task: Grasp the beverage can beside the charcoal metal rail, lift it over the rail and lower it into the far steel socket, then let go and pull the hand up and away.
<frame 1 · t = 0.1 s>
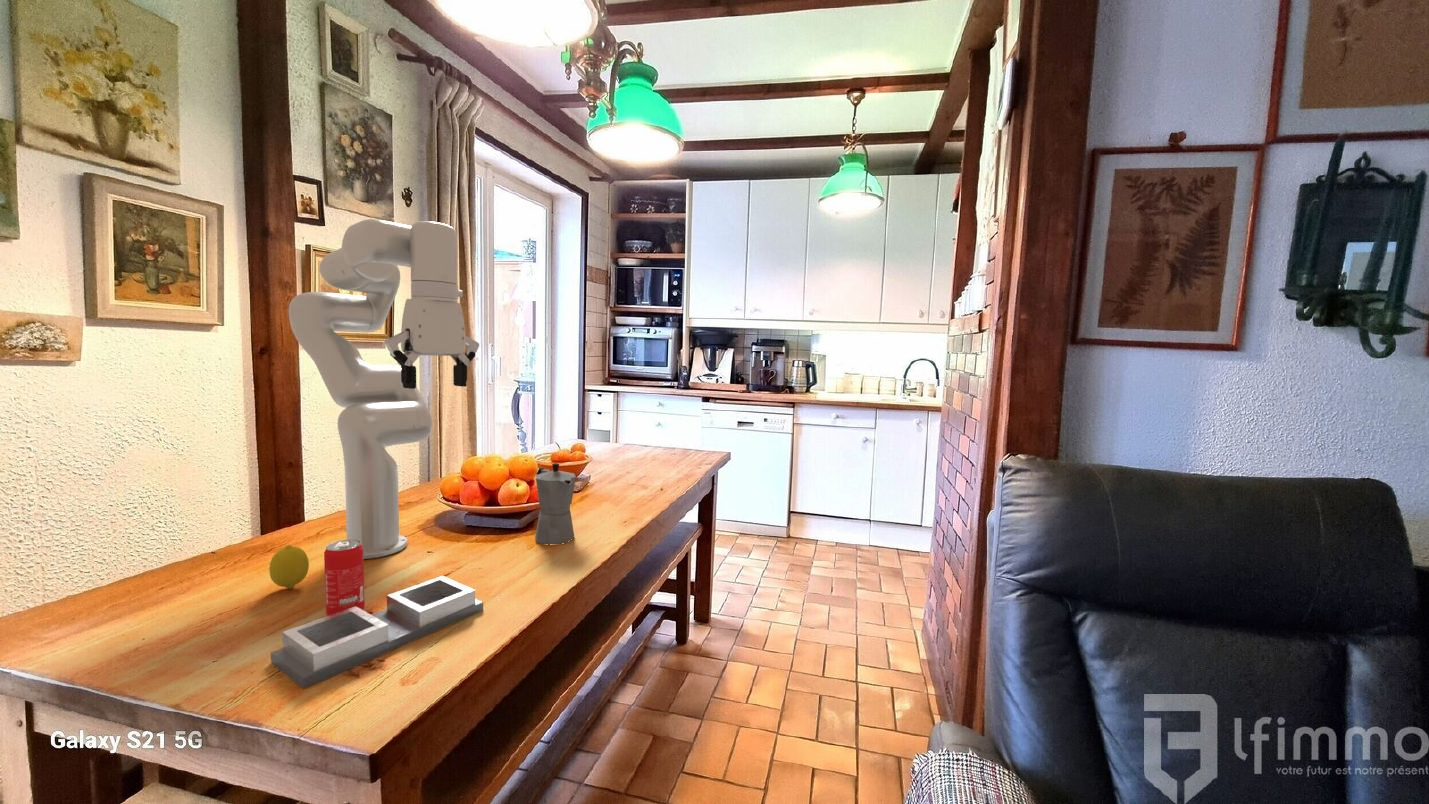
hand: (435, 387, 100), 37 cm above the table, tool pointing down, fingers open, 9 cm apart
beverage can: (345, 616, 88), on the table
lemon: (290, 589, 97), on the table
socket rail: (388, 633, 83), on the table
coffeepot: (552, 538, 127), on the table
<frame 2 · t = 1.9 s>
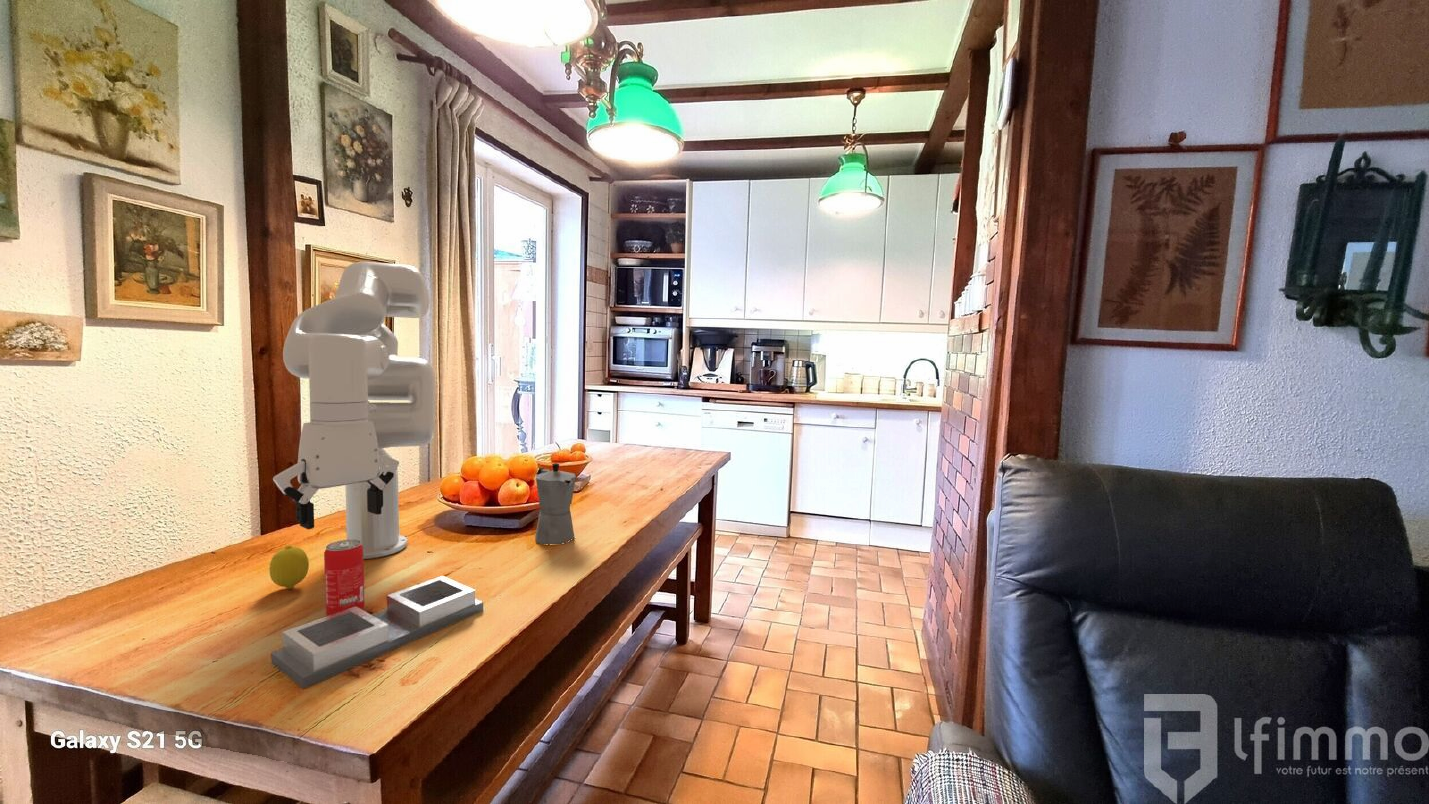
hand: (342, 519, 86), 16 cm above the table, tool pointing down, fingers open, 9 cm apart
nothing on the table moved.
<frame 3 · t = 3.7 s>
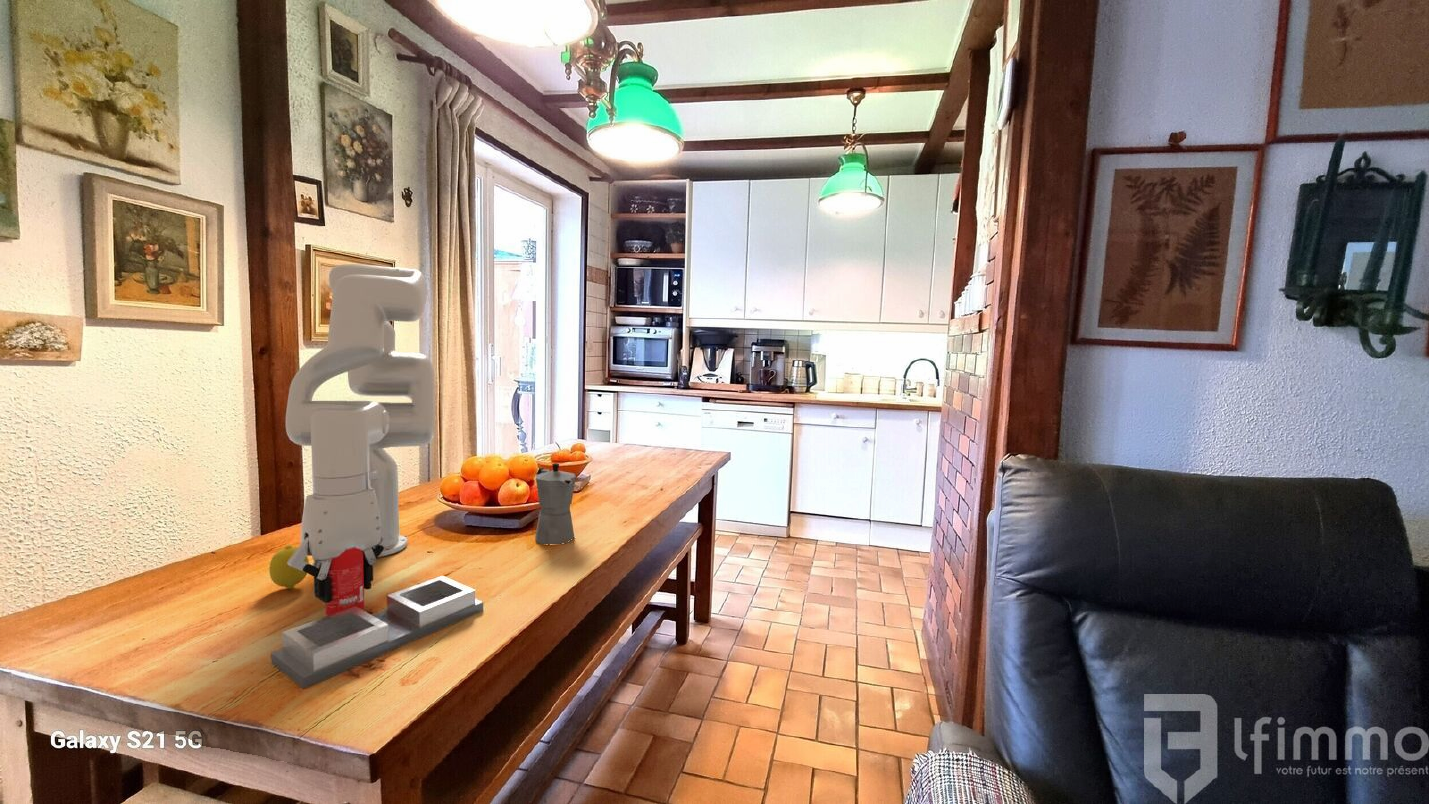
hand: (345, 592, 88), 4 cm above the table, tool pointing down, fingers closed on beverage can, 5 cm apart
beverage can: (345, 617, 88), on the table, touching gripper
everything else where it was.
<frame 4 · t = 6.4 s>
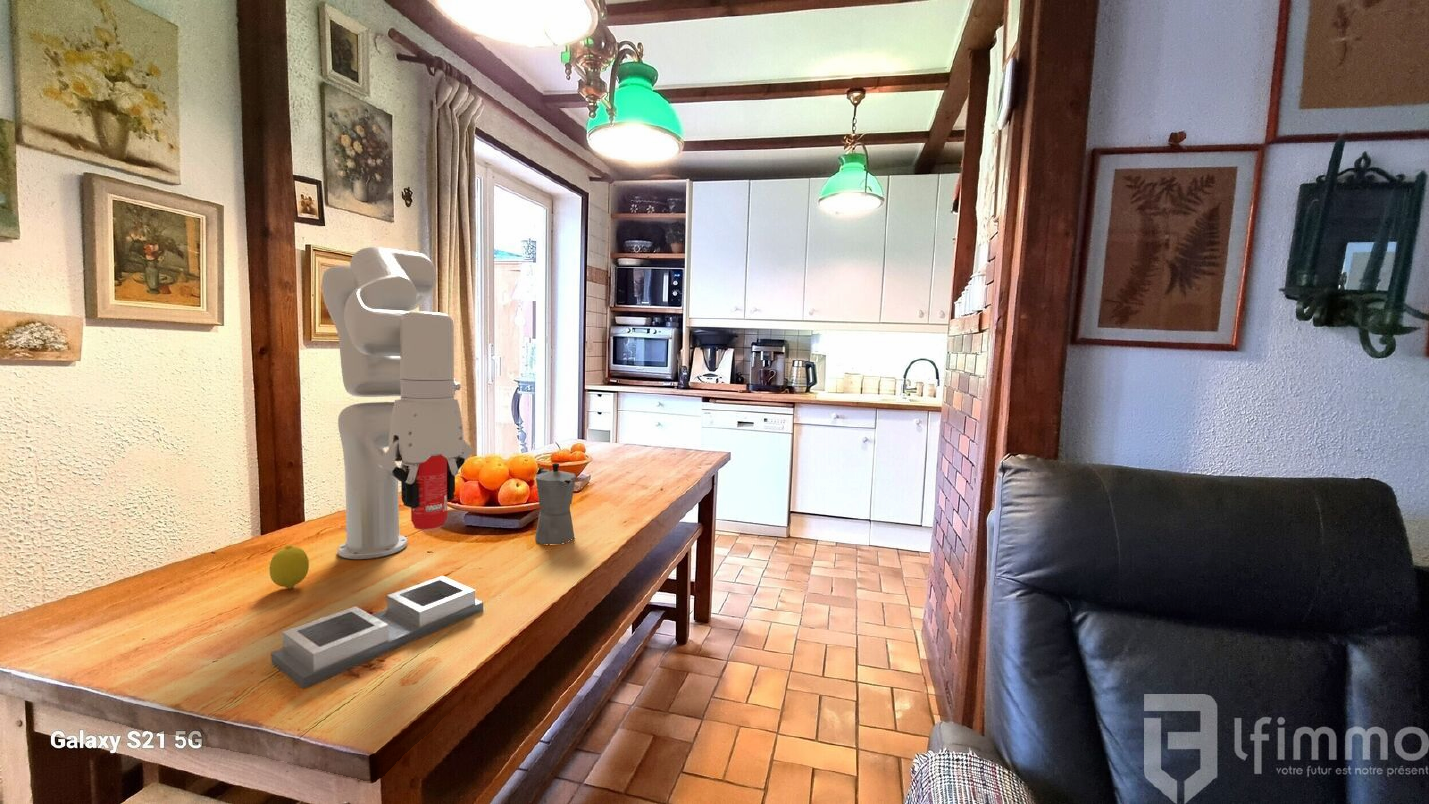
hand: (429, 501, 87), 19 cm above the table, tool pointing down, fingers closed on beverage can, 5 cm apart
beverage can: (429, 526, 88), point 15 cm above the table, touching gripper
everything else where it was.
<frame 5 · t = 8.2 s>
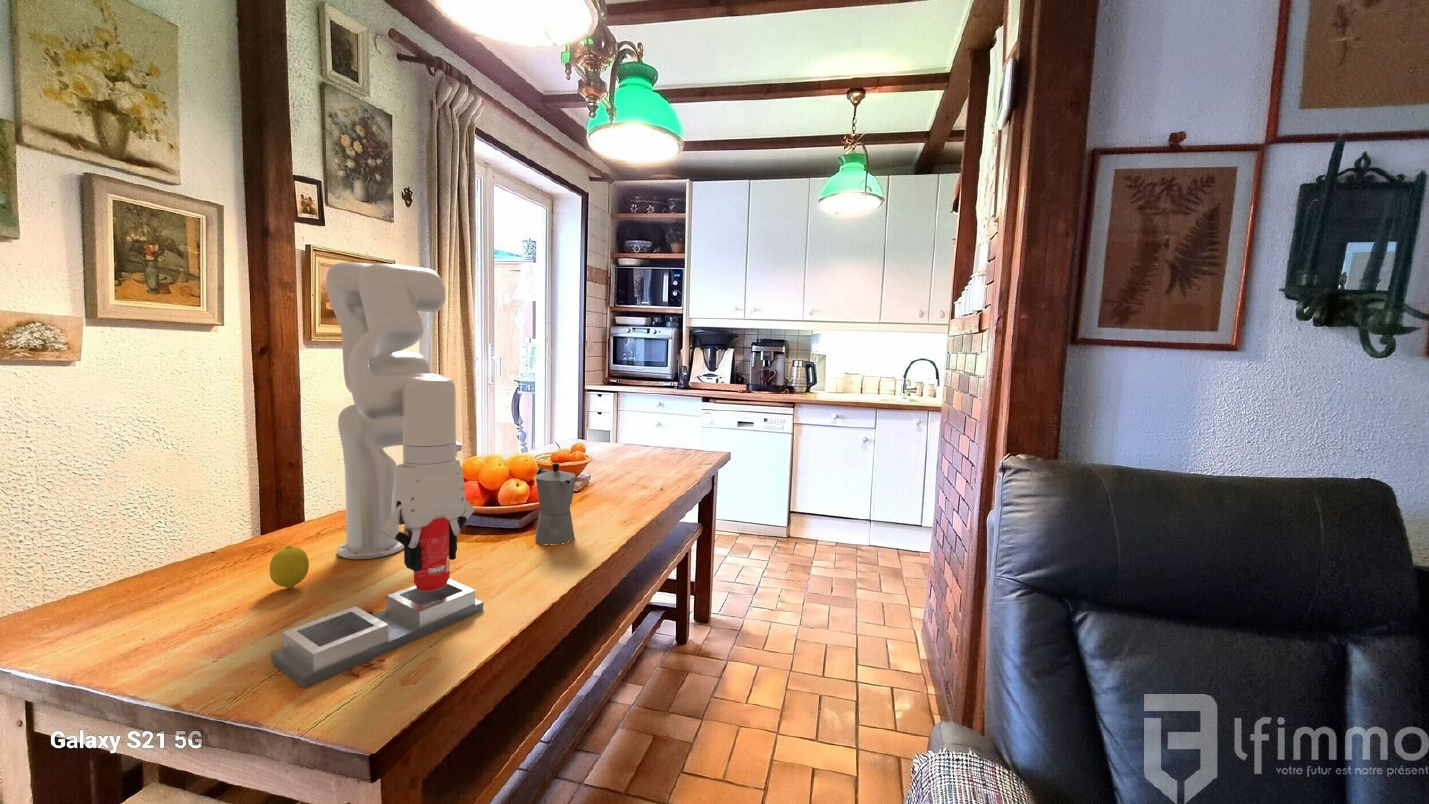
hand: (431, 562, 88), 9 cm above the table, tool pointing down, fingers closed on beverage can, 5 cm apart
beverage can: (432, 586, 88), point 5 cm above the table, touching gripper
everything else where it was.
when the fingers open (7 cm above the table, at t = 9.5 s): beverage can drops 1 cm, resting on socket rail.
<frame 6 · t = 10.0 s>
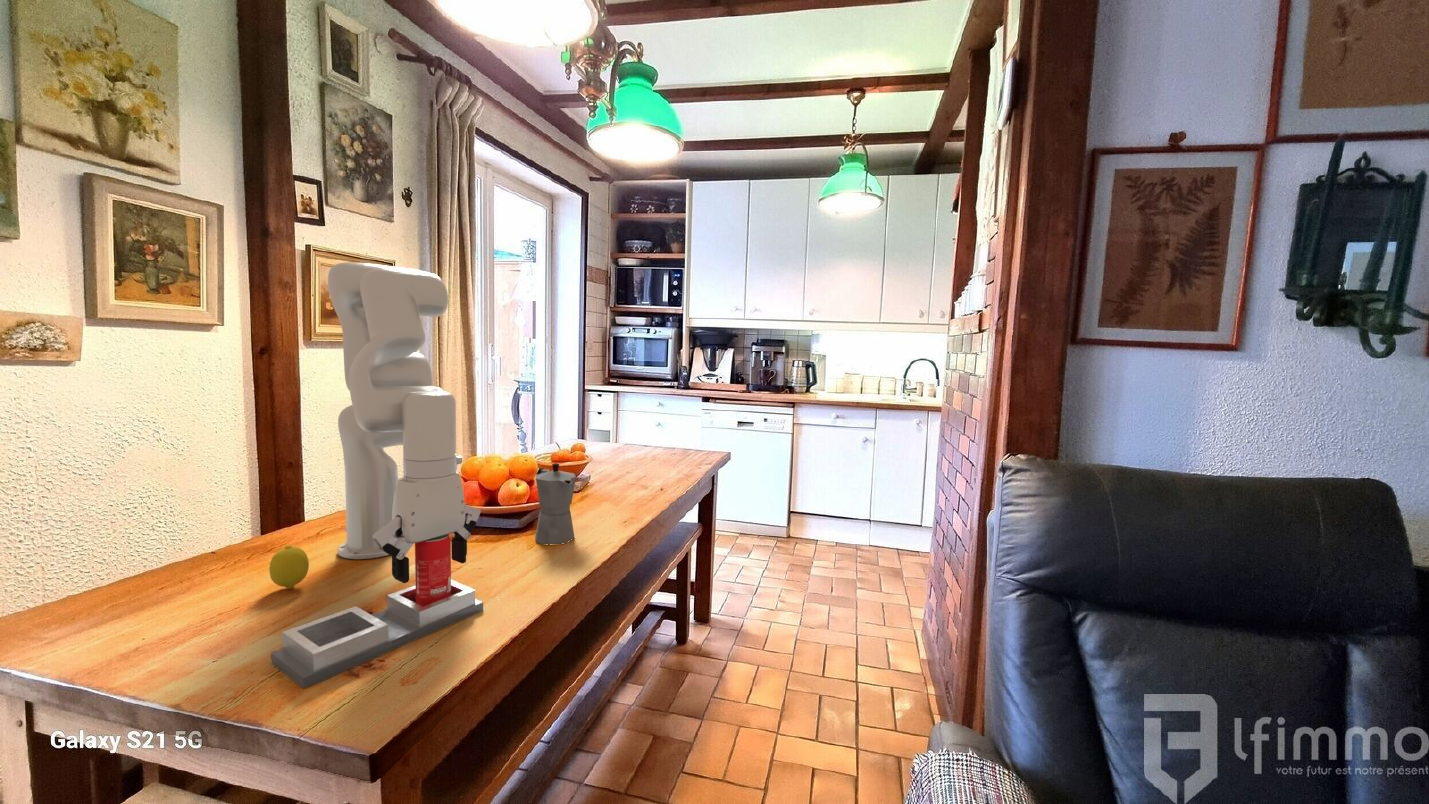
hand: (431, 570, 88), 8 cm above the table, tool pointing down, fingers open, 9 cm apart
beverage can: (433, 607, 89), point 1 cm above the table, touching socket rail
everything else where it was.
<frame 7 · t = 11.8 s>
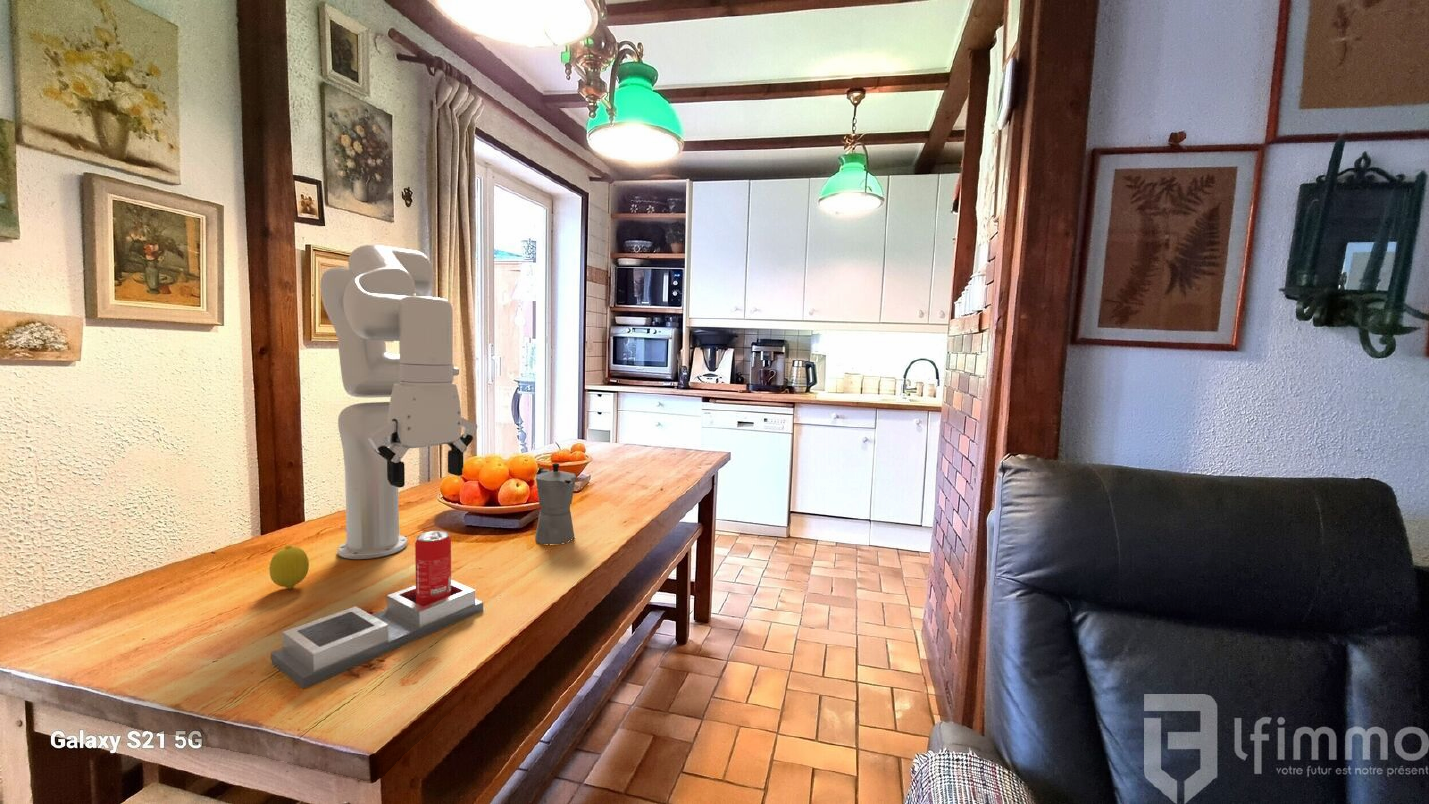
hand: (427, 479, 88), 23 cm above the table, tool pointing down, fingers open, 9 cm apart
nothing on the table moved.
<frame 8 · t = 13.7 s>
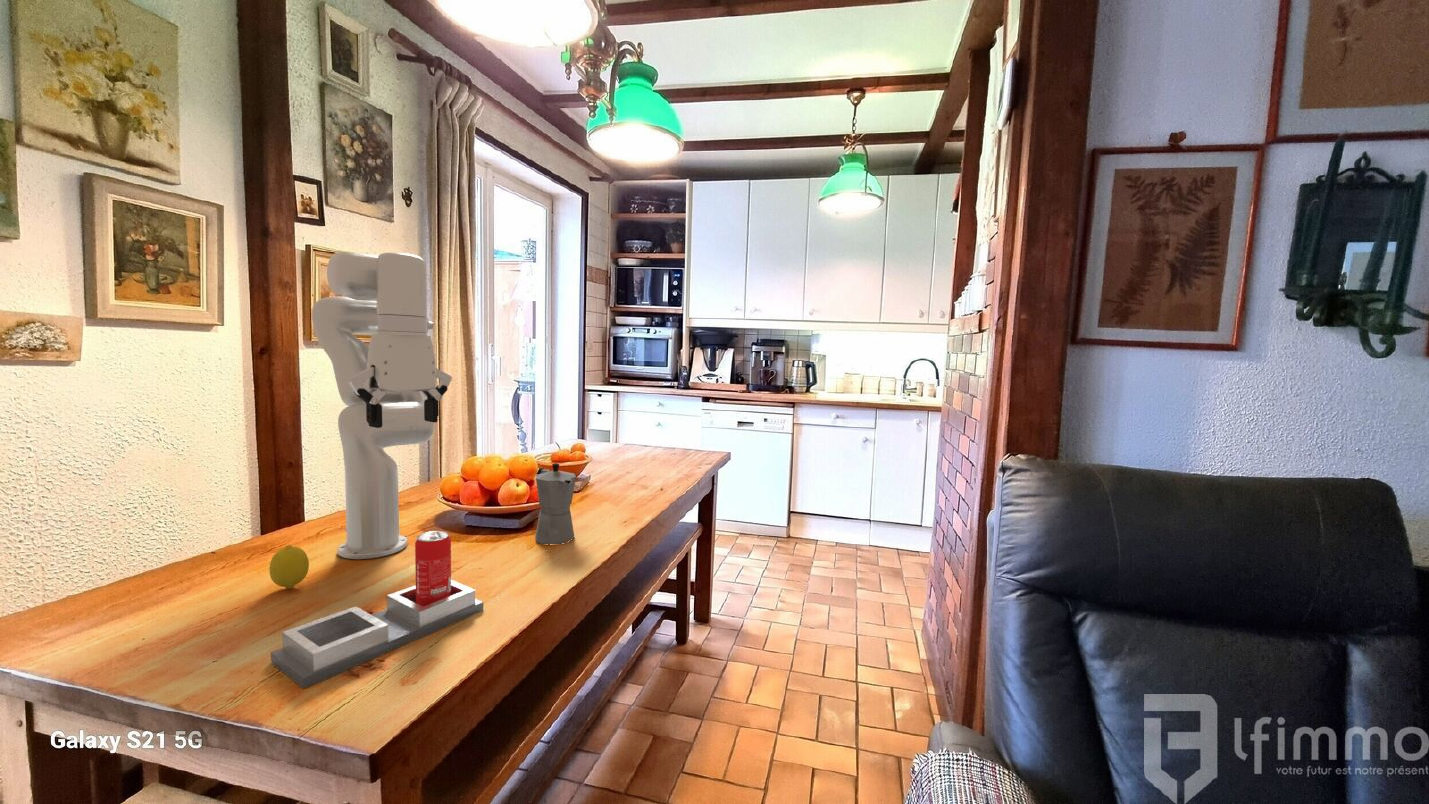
hand: (404, 424, 95), 30 cm above the table, tool pointing down, fingers open, 9 cm apart
nothing on the table moved.
at the end: beverage can 0.4 cm from the target spot on the socket rail, point 1.3 cm above the socket rail's base; beverage can tilted 0°; the gripper is holding nothing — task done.
